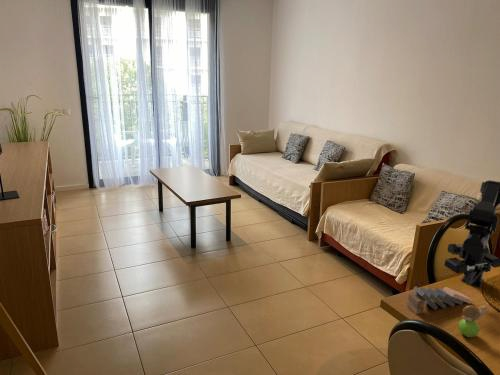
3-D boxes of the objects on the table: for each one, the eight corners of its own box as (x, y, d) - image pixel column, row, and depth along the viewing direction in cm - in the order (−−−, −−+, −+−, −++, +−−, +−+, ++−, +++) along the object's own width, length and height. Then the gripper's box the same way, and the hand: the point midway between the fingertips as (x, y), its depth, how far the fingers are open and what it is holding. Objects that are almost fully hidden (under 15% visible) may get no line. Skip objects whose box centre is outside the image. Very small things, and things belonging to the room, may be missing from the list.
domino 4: (453, 295, 135) (436, 287, 131) (463, 302, 131) (446, 294, 127) (451, 298, 135) (434, 290, 131) (461, 305, 131) (444, 297, 127)
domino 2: (437, 298, 133) (422, 286, 129) (446, 305, 129) (431, 293, 125) (434, 301, 133) (419, 290, 129) (444, 308, 129) (428, 297, 125)
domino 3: (445, 296, 134) (429, 287, 130) (455, 303, 130) (438, 294, 126) (443, 299, 134) (427, 290, 130) (453, 307, 130) (436, 297, 126)
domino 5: (462, 293, 136) (444, 286, 132) (472, 300, 132) (454, 293, 128) (460, 296, 136) (442, 289, 132) (470, 303, 132) (452, 296, 128)
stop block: (414, 305, 130) (416, 292, 129) (423, 312, 126) (425, 300, 125) (406, 306, 130) (408, 294, 128) (415, 314, 126) (417, 301, 124)
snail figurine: (483, 342, 113) (491, 308, 109) (460, 339, 114) (467, 305, 110) (476, 331, 118) (484, 297, 114) (454, 328, 119) (461, 295, 116)
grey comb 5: (429, 300, 132) (415, 286, 128) (438, 307, 128) (424, 293, 124) (426, 303, 132) (412, 289, 128) (435, 310, 128) (421, 296, 124)
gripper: (478, 231, 137) (470, 269, 142) (436, 236, 132) (429, 276, 137) (506, 244, 127) (496, 285, 132) (461, 251, 122) (453, 293, 126)
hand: (468, 284), depth 132 cm, fingers closed
